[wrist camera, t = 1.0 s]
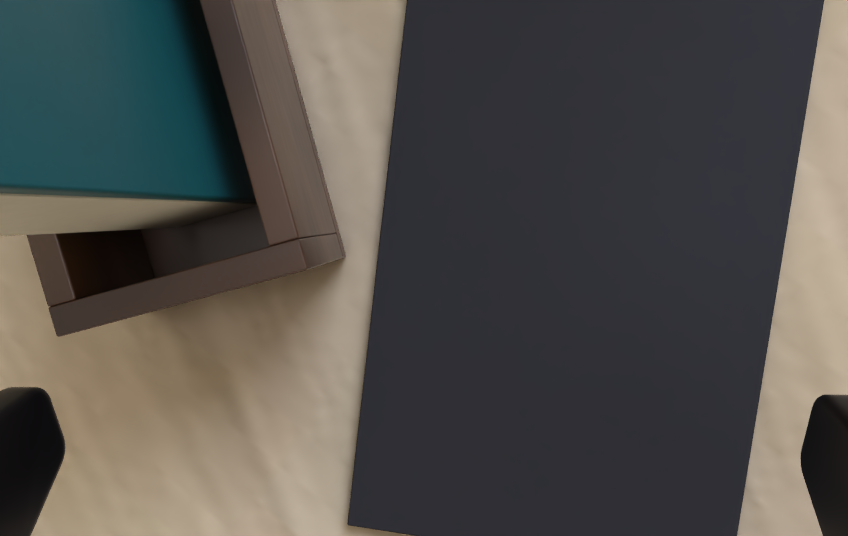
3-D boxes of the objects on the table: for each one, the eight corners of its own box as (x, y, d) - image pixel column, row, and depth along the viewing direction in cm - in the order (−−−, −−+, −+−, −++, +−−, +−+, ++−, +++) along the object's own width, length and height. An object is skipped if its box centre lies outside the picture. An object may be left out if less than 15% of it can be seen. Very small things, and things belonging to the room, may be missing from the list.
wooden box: (346, 257, 23) (307, 269, 18) (147, 310, 23) (56, 337, 18) (245, -108, 22) (176, -201, 17) (44, -42, 23) (-79, -113, 18)
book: (269, 202, 22) (-33, 187, 9) (172, 229, 22) (-252, 253, 10) (205, -24, 22) (-202, -368, 9) (107, 7, 22) (-424, -281, 9)
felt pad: (726, 579, 22) (729, 584, 22) (349, 521, 23) (347, 525, 23) (833, -82, 21) (838, -85, 20) (421, -117, 22) (420, -122, 21)
